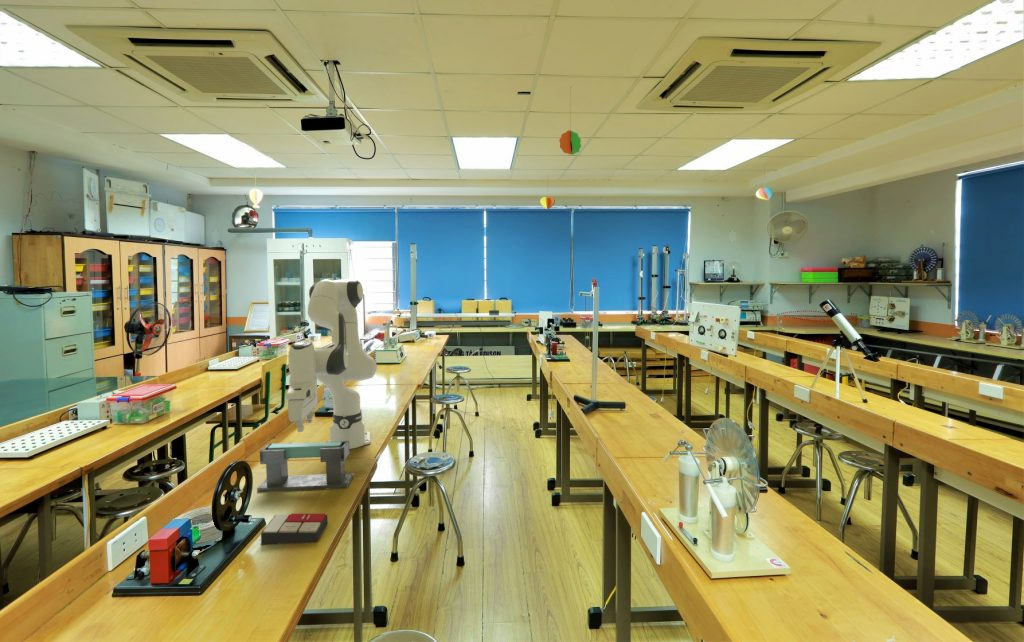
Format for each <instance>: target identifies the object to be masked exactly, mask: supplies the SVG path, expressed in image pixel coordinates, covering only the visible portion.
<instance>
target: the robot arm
mask: <svg viewBox="0 0 1024 642" xmlns="http://www.w3.org/2000/svg"><path fill="white" fill-rule="evenodd" d="M308 290H309V291H308V296H309V301H308V304H307V315H308V317H309V319H310V320H311V322H313V323H314V324H315V325H317V326H319V327H322V328H325V329H329V330H330V332H331V333H330V335H331V342H332V344H333V346H330V347H315V345H314V343H313V342H311V341H309V340H300V341H296V342H293V343H291V345H290V346H289V351H288V371H289V375H290V377H289V382H288V383H289V385H288V390H287V391H286V394H285V399H286V400H288V401H287V410H288V411H287V412H288V419H289V421H290V423H295V424H296V427H297V428H296V429H297V432H298V433H302V432H304V431H305V425H304V419H305V422H306V424H311V423H313V416H314V410H315V409H316V408H317V407H318V403H319V401H318V400H319V399H318V382H320V383H322V385H324V386H325V387H326V388H327V389H328V390H329V393H330V395H331V397H332V398H331V399H332V405H333V413H332V424H330V426H329V440H328V441H349V450H352V449H357V448H360V447H362V446H366V445H369V444H371V432H370V431H366V425H365V424H366V423H365V422H364V420H363V415H362V414H363V413H362V409H361V396H360V393H359V392H358V391H357V390H354V389H353V388H351V387H348V386H347V385H346V384H345V383H346V382H356V381H357V382H358V381H360V382H361V381H365V380H369V379H373V378H374V377H375V376H376V374H377V369H378V365H377V361H376V360H375V359H374V357H373V356H371V355H369V353H367V352H366V351H365V350H364V348H363V347H362V345H361V342H360V338H359V337H360V336H359V326H358V325H359V323H358V320H359V319H358V313H357V309H356V308H357V307H358V305H359V304H360V303H361V301H362V300H363V297H364V288H363V286H362V283H361V282H360V281H359V280H358V279H357V280H356V279H334V280H330V279H322V280H320V281H318V282H317V283H314V284H312V286H311V287H310V288H309V289H308Z"/></svg>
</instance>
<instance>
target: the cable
mask: <svg viewBox="0 0 1024 642" xmlns="http://www.w3.org/2000/svg"><path fill="white" fill-rule="evenodd" d="M211 506H212V505H211ZM211 506H210V505H209V506H202V507H198V508H195V509H191V510H189V511H186V512H184V513H181V514H180V515H178V516H176V517H174V518H173V519H172V520H174V519H183V518H189V519H191V520H192V524H193V525H192V526H193V527H194V526H199V527H200V528H199V529H198V530H199V531H200V534H201V538H200V540H199V541H197V542H196V544H197V545H198V544H202V543H206V542H209V541H214V540H217V539H219V538H220V537H221V532H220V531H219V530H217V529H216V527H215V525H214V522H213V521H212V515H211ZM199 523H206V524H202V525H196V524H199Z"/></svg>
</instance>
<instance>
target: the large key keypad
mask: <svg viewBox="0 0 1024 642" xmlns="http://www.w3.org/2000/svg"><path fill="white" fill-rule="evenodd" d="M327 524H328V514H326V513H290V514H288V513H285V514H284V513H278V514H275V515H274V516H273V517H272V518H271V520H270V521H269V523H268V524H267V525H266V526H265V528H264V529H263V530H262V531H261V533H260V537H261V539H260V545H261V546H271V545H273V546H274V545H279V544H307V543H309V544H310V543H317V542H318V541H319V540H320V538H321V536H322V534H323V532H324V531H323V530H325V529H326V526H327Z"/></svg>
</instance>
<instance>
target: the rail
mask: <svg viewBox="0 0 1024 642" xmlns="http://www.w3.org/2000/svg"><path fill="white" fill-rule="evenodd" d="M286 443H287V444H272V445H270V446H269V447H268V450H283V449H285V458H289V459H306V458H308V459H309V458H320V449H321V448H340V447H342V442H327V441H326V442H325V441H323V442H321V441H319V442H295V443H294V442H286Z"/></svg>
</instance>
